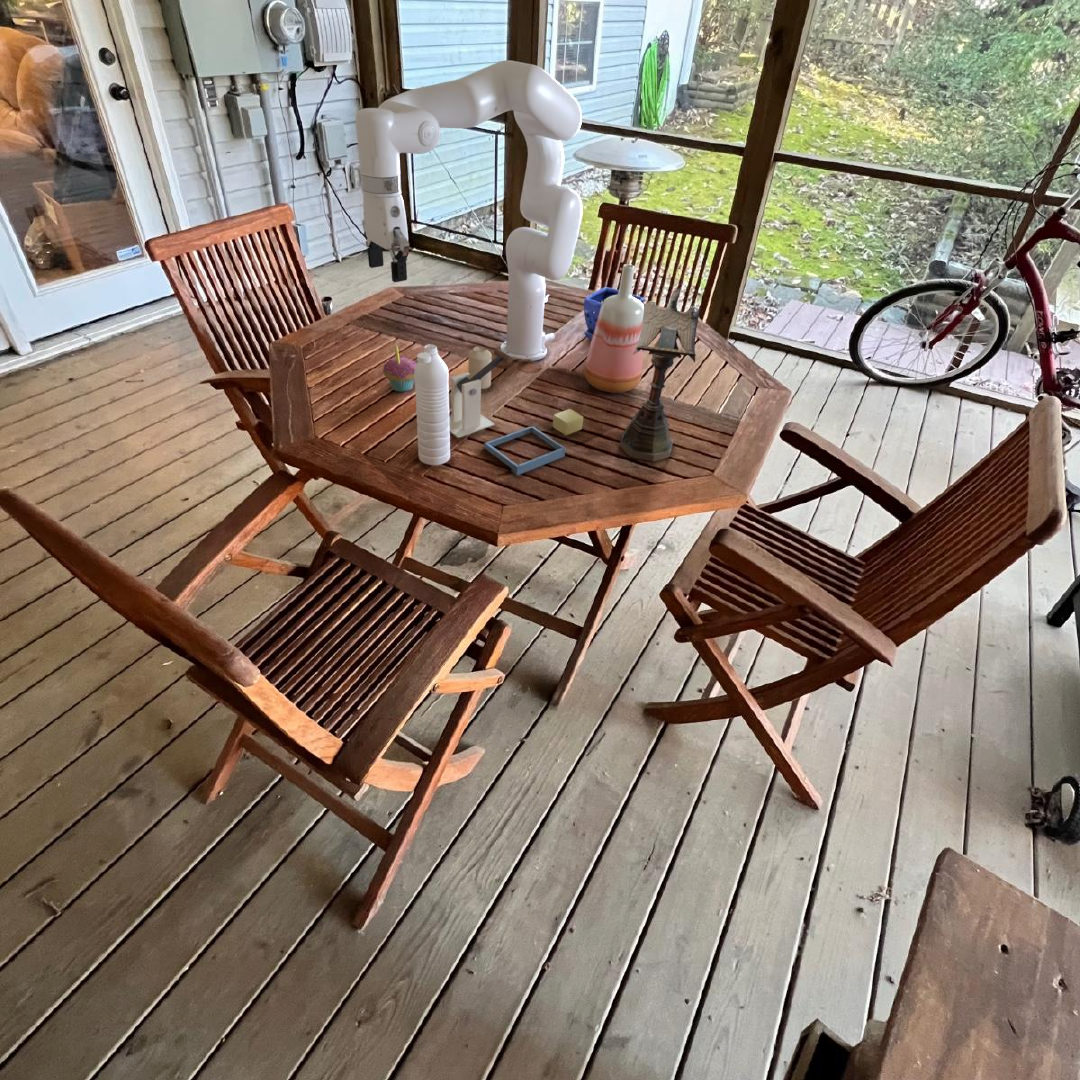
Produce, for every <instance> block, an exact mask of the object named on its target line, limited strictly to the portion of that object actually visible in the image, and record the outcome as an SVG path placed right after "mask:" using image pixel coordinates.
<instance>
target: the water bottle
mask: <svg viewBox="0 0 1080 1080" xmlns="http://www.w3.org/2000/svg"><path fill="white" fill-rule="evenodd" d="M416 361H417V362H416V363H417V365H416V367H415V371H414V378H415V380H414V386H415V387H414V390H415V391H414V393H415V412H416V413H415V415H416V424H417V425H416V431H417V449H418V453H417V454H418V460H419V461H420V462H422V463H423V464H425V465H428V466H429V465H431V466H439V465H444V464H445V463H447V462H448V461H450V459H451V441H450V440H451V432H450V426H449V422H450V420H449V417H450V390H449V389H450V386H449V385H450V382H449V381H450V379H449V378H450V375H449V373H450V372H449V367H448V365H447V364H446V362H445V361H444V360H443V359H442V357H441V356H440V355H439V349H438V347H437V345H436V344H431V343H428V344H425V345H424V348H423V352H419V353H417V354H416Z"/></svg>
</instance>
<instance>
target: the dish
mask: <svg viewBox="0 0 1080 1080" xmlns="http://www.w3.org/2000/svg"><path fill="white" fill-rule="evenodd" d="M531 433H532V434H533V435H535V436H536V437H538V438H540V439H541V441H544V442H545V443H547V444H548V445H550V446H551V447H553V448H554V449H555V450H552V451H550V452H547V453H545V454H543V455H540V456H537V457H535V458H532V459H530V460H528V461H525V462H522V463H520V464H517V463H515V462H514V461H513V460H512V459H510V458H508V457H507V456H506V455H504V454H503V453H502V452H501V451H499V450H498V449H497V448H495V447H496V446H498V445H501V444H503V443H507V442H509V441H513V440H515V439H517V438H520V437H522V436H525V435H528V434H531ZM483 448H484V449H485V450H487V451H488V452H489V453H490V454H492V455H493V456H494V457H496V458H497V459H498V460H499V461H501V462H503V463H504V464H505V465H507V466H508V468H510V469H509V471H510V472H511V473H513V475H515V476H519V475H523V474H525V473H528V472H530V471H532V470H535V469H537V468H539V467H543V466H544V465H547V464H550V463H551V462H554V461H556V460H557V461H558V460H559V459H561V458H564V457H565V456H566V448H567V447H565V446H563V445H562V444H561V443H559V442H557V441H556V440H555V439H553V438H551V437H550V436H548V435H547V434H545V433H544V432H542V431H541V430H540V429H538V428H536V427H535V426H533V425H531V426H528V427H525V428H521V429H519V430H517V431H514V432H511V433H508V434H505V435H503V436H501V437H500V436H499V437H498V438H495V439H492V440H489V441H487V442H484V447H483Z"/></svg>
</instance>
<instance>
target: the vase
mask: <svg viewBox="0 0 1080 1080" xmlns="http://www.w3.org/2000/svg"><path fill="white" fill-rule="evenodd" d="M634 274H635V266H634V265H633V264H623V265H622V270H621V276H620V283H619V288H618V290H619V292H618V294H617V295H613V296H610V297H608V298H606V299H605V300H604V301H602V302H601V303H602V306H601V309H600V312H599V316H598V319H597V323H596V327H595V330H594V334H593V337H592V339H591V341H590V345H589V348H588V352H587V356H586V359H585V364H584V370H583V372H584V374H583V375H584V378H585V380H586V381H587V383H588V384H589V385H590V386H591V387H593V388H594V389H597V390H599V391H602V392H604V393H605V392H606V393H612V394H613V393H614V394H619V393H621V394H622V393H626V392H630V391H632V390H633V389H635V388H636V387H637V386H638V385H639V384H640V382H641V380H642V374H643V362H644V361H643V360H644V350H640V351H639V352H637V353H635V354H634V355H633V353H634V351H635V349H636V346H637V343H638V341H639V337H640V333H641V328H642V321H643V313H644V306H645V305H644V303H643V304H642V303H641V302H640V301H639V300H638V299H636V298H634V297H632V295H631V294H632V291H633V290H632V288H633V282H634Z"/></svg>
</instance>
